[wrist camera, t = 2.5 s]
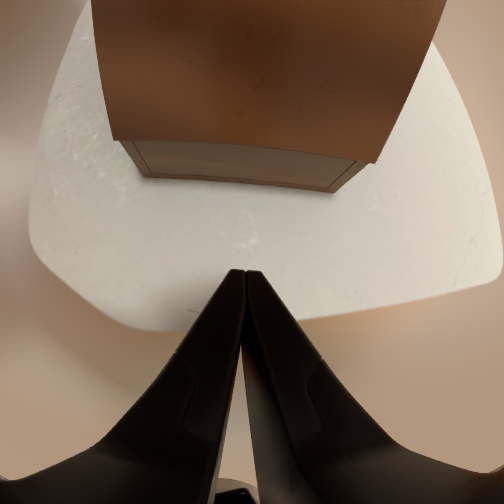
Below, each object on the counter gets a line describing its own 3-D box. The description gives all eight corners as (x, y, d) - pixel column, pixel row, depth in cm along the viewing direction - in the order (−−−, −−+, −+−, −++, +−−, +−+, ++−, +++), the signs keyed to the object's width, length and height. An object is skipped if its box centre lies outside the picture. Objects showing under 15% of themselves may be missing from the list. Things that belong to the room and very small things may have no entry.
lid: (99, -77, 4) (89, -77, 3) (447, -32, 5) (457, -30, 4) (118, 132, 13) (113, 141, 13) (371, 155, 15) (375, 164, 14)
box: (170, 65, 21) (160, 18, 15) (328, 81, 22) (351, 37, 16) (143, 177, 19) (118, 140, 14) (334, 193, 21) (369, 163, 15)
